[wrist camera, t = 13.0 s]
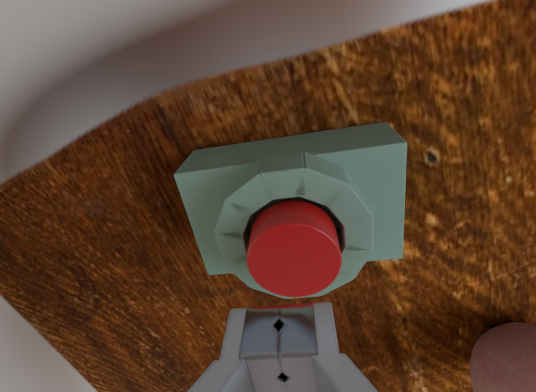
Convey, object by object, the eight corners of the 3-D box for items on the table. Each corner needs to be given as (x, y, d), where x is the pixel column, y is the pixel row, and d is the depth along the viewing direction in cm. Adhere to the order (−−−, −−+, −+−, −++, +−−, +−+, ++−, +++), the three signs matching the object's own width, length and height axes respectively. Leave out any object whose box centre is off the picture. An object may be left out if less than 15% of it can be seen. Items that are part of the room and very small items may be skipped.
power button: (259, 271, 14) (255, 301, 13) (243, 205, 12) (236, 229, 11) (338, 265, 14) (344, 294, 12) (332, 194, 12) (338, 218, 10)
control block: (221, 243, 19) (200, 305, 15) (191, 145, 16) (154, 187, 12) (385, 226, 18) (415, 290, 13) (386, 116, 15) (425, 151, 10)
